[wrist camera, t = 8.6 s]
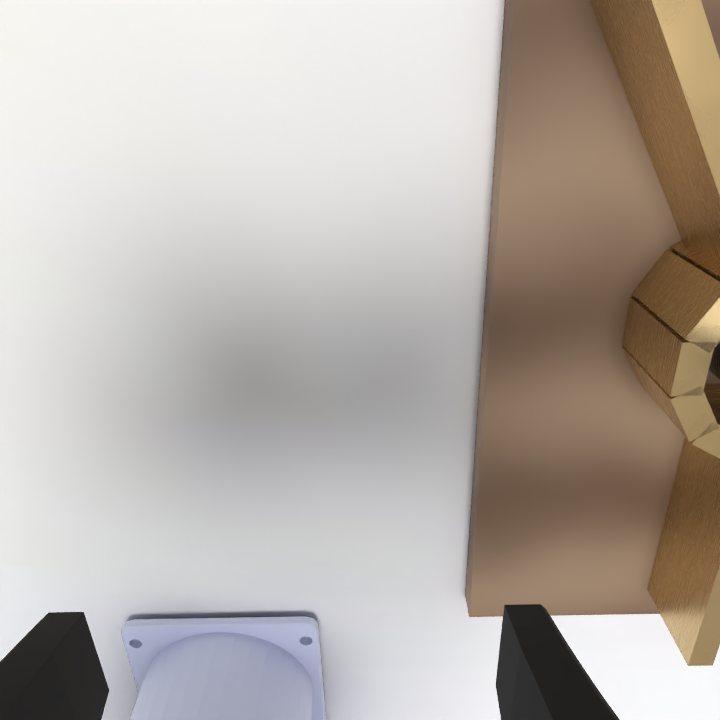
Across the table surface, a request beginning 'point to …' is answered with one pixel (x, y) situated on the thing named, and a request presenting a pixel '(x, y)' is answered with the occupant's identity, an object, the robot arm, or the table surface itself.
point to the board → (568, 333)
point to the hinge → (679, 292)
